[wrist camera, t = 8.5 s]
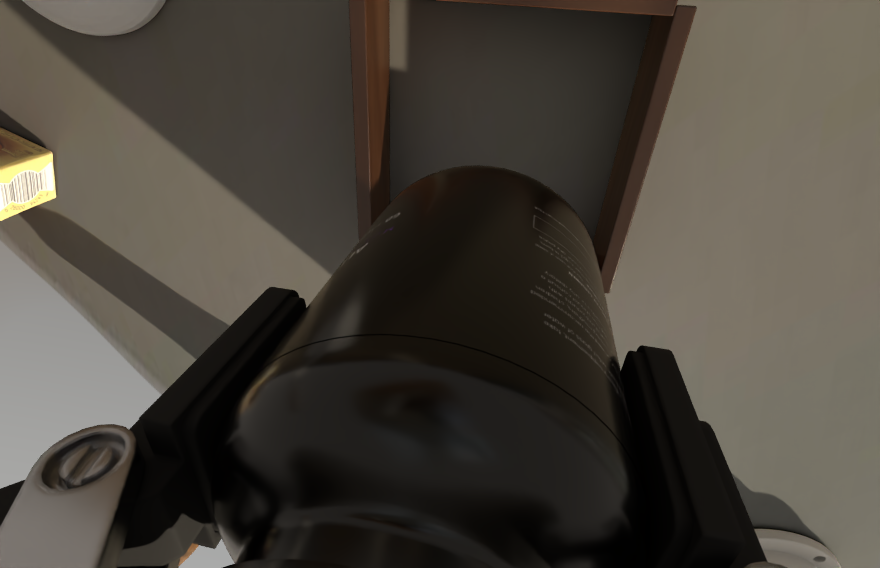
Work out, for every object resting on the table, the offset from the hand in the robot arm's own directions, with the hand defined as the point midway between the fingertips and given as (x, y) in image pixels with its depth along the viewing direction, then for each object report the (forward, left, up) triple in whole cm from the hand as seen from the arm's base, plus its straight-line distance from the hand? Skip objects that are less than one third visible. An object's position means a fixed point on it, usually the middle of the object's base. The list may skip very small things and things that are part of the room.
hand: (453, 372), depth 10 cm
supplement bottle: (0, 0, -5) cm, 5 cm away
